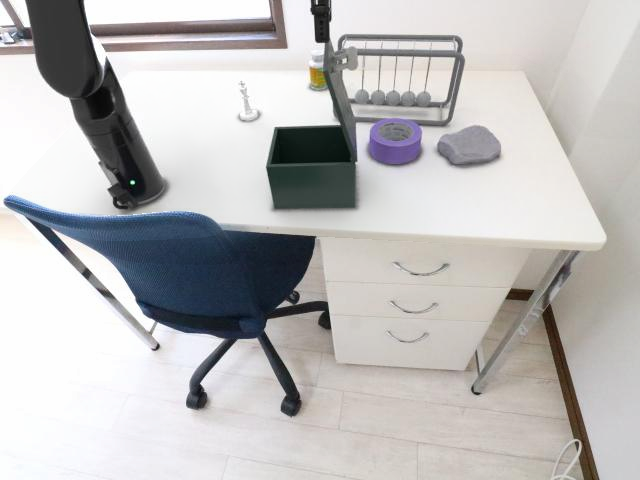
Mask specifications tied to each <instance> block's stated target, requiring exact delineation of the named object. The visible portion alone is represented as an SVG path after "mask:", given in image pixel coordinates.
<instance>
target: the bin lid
mask: <svg viewBox="0 0 640 480" xmlns="http://www.w3.org/2000/svg"><path fill="white" fill-rule="evenodd" d="M347 48H348V49H347V51H346V52H345V53H342V54H339V55H335V48H334V46H333V43H332V40H331V38H330V40H329V42H328V43H324V47H323V51H324V60H323V75H324V78H325V81H326V84H327V90H328V93H329V96H330V99H331V101H332V105H333V104H334V107H335V110H336V113H337V116H338V119H337V120H338V122H339V125H341V128H342V131H343V134H344V137H345V140H346V143H347V145H348V148H349V151H350V154H351V157H352V160H353V163H355V164H356V163H358V145H357V144H358V142H357V139H358V138H357V121H355V118H354V116H355V115H354V112H353V109H352V105H351V103H350V101H349V98H350V97H349V95H348V91H347V88H346V86H345V82H344V79H343V78H344V77H343V78H342V75H341V72H340V71H341V70H342V71H344V70H346V69H347V70H349V71H355V70H357V69H358V67H359V58H358V56H357V49H356V48H357V47H356V46H349V47H347ZM339 60H342V61H343V60H346V62H344V63H343V62H342V64H340V65H338V61H339Z"/></svg>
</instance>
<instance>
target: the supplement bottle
mask: <svg viewBox="0 0 640 480" xmlns="http://www.w3.org/2000/svg"><path fill="white" fill-rule="evenodd" d="M310 58H311V59H310V61H308V65H309V76H310V77H309V78H310V87H311V89H313V90H316V91H318V90H319V91H322V90H326V89H328V87H327V84H326V81H325V78H324V75H323V60H324V49H314V50H312V51H311V52H310Z"/></svg>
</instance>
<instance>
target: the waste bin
mask: <svg viewBox="0 0 640 480" xmlns="http://www.w3.org/2000/svg"><path fill="white" fill-rule="evenodd" d="M265 164H266V166H265V169H266V175H267V179H268V183H269V189H270V193H271V199H272V204H273V208H274V210H286V209H290V210H292V209H293V210H295V209H343V208H348V209H349V208H351V209H352V208H356V162H355V163H353V160H352V157H351V154H350V151H349V148H348V145H347V143H346V140H345V137H344V134H343V131H342V128H341V125H340V124H321V125H296V126H295V125H294V126H293V125H291V126H290V125H289V126H274V128H273V133H272V138H271V142H270V146H269V151H268V156H267V161H266V163H265Z"/></svg>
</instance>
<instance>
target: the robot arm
mask: <svg viewBox="0 0 640 480" xmlns="http://www.w3.org/2000/svg"><path fill="white" fill-rule="evenodd" d="M24 2H25V6H26V11H27V16H28V20H29V21H28V22H29V27H30V33H31V38H32V44H33V50H34V58H35V64H36V67H37V70H38V72H39V75H40V76H41V78H42V79H43V80H44V81H45V83H46V84H47V85H48V87H50V88H51V89H52V90H54V91H55V92H56V93H57V94H59V95H61V96H63V97H65V98H68V100H69V103H70V106H71V108H72V113H73V117H74V120H75V122H76V124H77V126H78V127H79V129H80V131H81V132H82V134H83V135H84V137H85V138H86V140H87V142H88V143H89V145H90V147H91V149H92V150H93V151H94V153H95V155H96V157H97V158H98V160H99V161H98V162H97V164H98V166H99V168H100V169H101V170H102V172H103V174H104V176H105V178H107V180H108V182H109V184H110V185H111V186H110V187H108V188H106V190H107V192H108V194H109V195H110V197H111V198H112V205H113V207H114V208H115V209H118V210H124V211H128V210H129V206H131V207H132V208H136V207H138V206H141V205H145V204H149V203H152V202H153V201H155V200H156V199H158V198H159V197H160V196H161V195H163V193H164V191H165V190H166V182H165V181H164V179H163V177H162V175H161V173H160V171H159V169H158V167H157V165H156V163H155V161H154V159H153V157H152V155H151V152H150V150H149V148H148V146H147V144H146V141H145V140H144V138H143V136H142V133H141V132H140V130H139V128H138V125H137V123H136V121H135V119H134V117H133V115H132V112H131V110H130V108H129V106H128V103H127V100H126V99H127V98H126V96H125V93H124V90H123V88H122V86H121V83H120V82H119V79H118V77H117V75H116V73H115V70H114V68H113V66H112V63H111V61H110V59H109V56H108V55H107V53H106V50H105V49H104V47H103V46H102V44H101V43H100V42H99V40H98V39H97V38H96V37H95V36H94V35H93V34H92V32H91V28H90V23H89V20H88V15H87V11H86V10H87V9H86V1H85V0H24ZM332 7H333V6H332V0H310V9H309V11H310V14H311V16H313V26H314V27H313V28H314V41H315V43H316V44H325V43H328V42H329V40H330V39H331V33H330V32H331V29H330V23H331V22H332V19H333V18H332V17H333V11H332V10H333V9H332ZM126 204H128V205H129V206H128V205H126Z"/></svg>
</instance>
